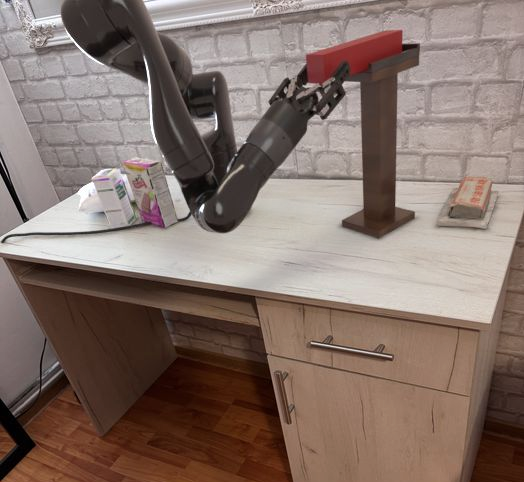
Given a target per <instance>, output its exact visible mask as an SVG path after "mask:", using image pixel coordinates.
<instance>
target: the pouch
mask: <svg viewBox="0 0 524 482" xmlns="http://www.w3.org/2000/svg"><path fill="white" fill-rule="evenodd" d="M121 175H122V178H123V181H124V183H125V186H126V189H127V192H128V195H129V197H130V200H131V203H132V204H133V203H136V201H135V199H134V195H133V192H132V190H131V187H130V184H129V181H128V178H127V175H126V174H121ZM77 195H78V196H79V197H80V202H79V205H78V207H77V212H79V213H82V214H97V213H103V212H104V209H103V207H102V204H101V202H100V199H99V197H98V194H97V192H96V189H95V187H94V184H93V182H90V183H88V184H86V185H83V187H81V188H80V189H79V191H78V192H77ZM104 213H105V212H104Z"/></svg>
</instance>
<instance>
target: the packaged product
mask: <svg viewBox="0 0 524 482" xmlns="http://www.w3.org/2000/svg"><path fill="white" fill-rule="evenodd" d="M458 185H459V186H458V187H455V188H453V189H452V191H451V193H450V195H449V197H448V199H447V201H446V203H445V205H444V207H443V209H442V211H441V213H440V215H439V217H438V218H437V226H438V227H464V228H465V227H466V228H468V227H469V228H479V229H484V230H486V229H487V227H488V224H489V222H490V220H491V216H492V213H493V211H494V209H495V203H496V201H497V199H498V194H499V190H492V187H493V180H492V178H489V177H486V176H465V177H463V179H462V180H461V181H460V183H459V184H458Z"/></svg>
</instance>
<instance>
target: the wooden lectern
mask: <svg viewBox="0 0 524 482" xmlns="http://www.w3.org/2000/svg"><path fill="white" fill-rule="evenodd" d="M420 51H421V43H420V42H410V43H408V42H407V43H406V42H405V43H403V42H402V52H401V53H398V54H395V55H392V56H389V57H386V58H383V59H380V60H377V61H374V62H371V63H369V69H367V70H364V71H361V72H359V73H356V74H353V75H350V76H348V77H347V78H346V80H345V81H344V82H346V83H347V82H349V83H359V84H360V85H359V87H360V89H359V90H360V93H359V94H360V127H361V128H360V129H361V132H360V133H361V165H362V166H361V171H362V202H363V203H362V205H363V208H362V209H361V210H359V211H356V212H355V213H353V214H351V215H348V216H347V217H345V218H343V219H341V227H342V228H345V229H349V230H352V231H354V232H357V233H360V234H363V235H366V236H369V237H372V238H375V239H378V240H379V239H381V238H382V237H384V236H386V235H388V234H389V233H391V232H393V231H395V230H397V229H398V228H400V227H402V226H404V225H405V224H407V223H409V222H411V221H413V220H415V216H416V212H415V211H413V210H410V209H406V208H402V207H398V206H396V202H397V201H396V195H397V140H398V137H397V136H398V85H399V84H398V79H399V74H400V73H402V72H405V71H408V70H411V69H413V68H416V67H418V66H420V55H421V54H420V53H421V52H420Z"/></svg>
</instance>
